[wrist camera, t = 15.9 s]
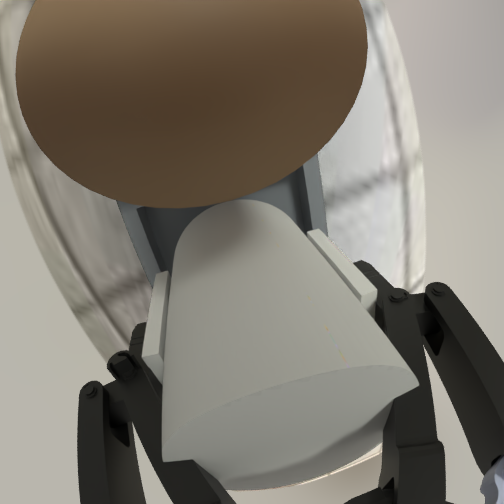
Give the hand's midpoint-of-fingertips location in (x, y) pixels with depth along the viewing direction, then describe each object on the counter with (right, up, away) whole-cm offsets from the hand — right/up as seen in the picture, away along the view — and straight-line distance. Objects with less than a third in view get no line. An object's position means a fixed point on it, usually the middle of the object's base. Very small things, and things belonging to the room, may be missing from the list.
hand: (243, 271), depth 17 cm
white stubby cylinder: (0, 0, +1) cm, 1 cm away
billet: (-3, +11, -2) cm, 11 cm away
